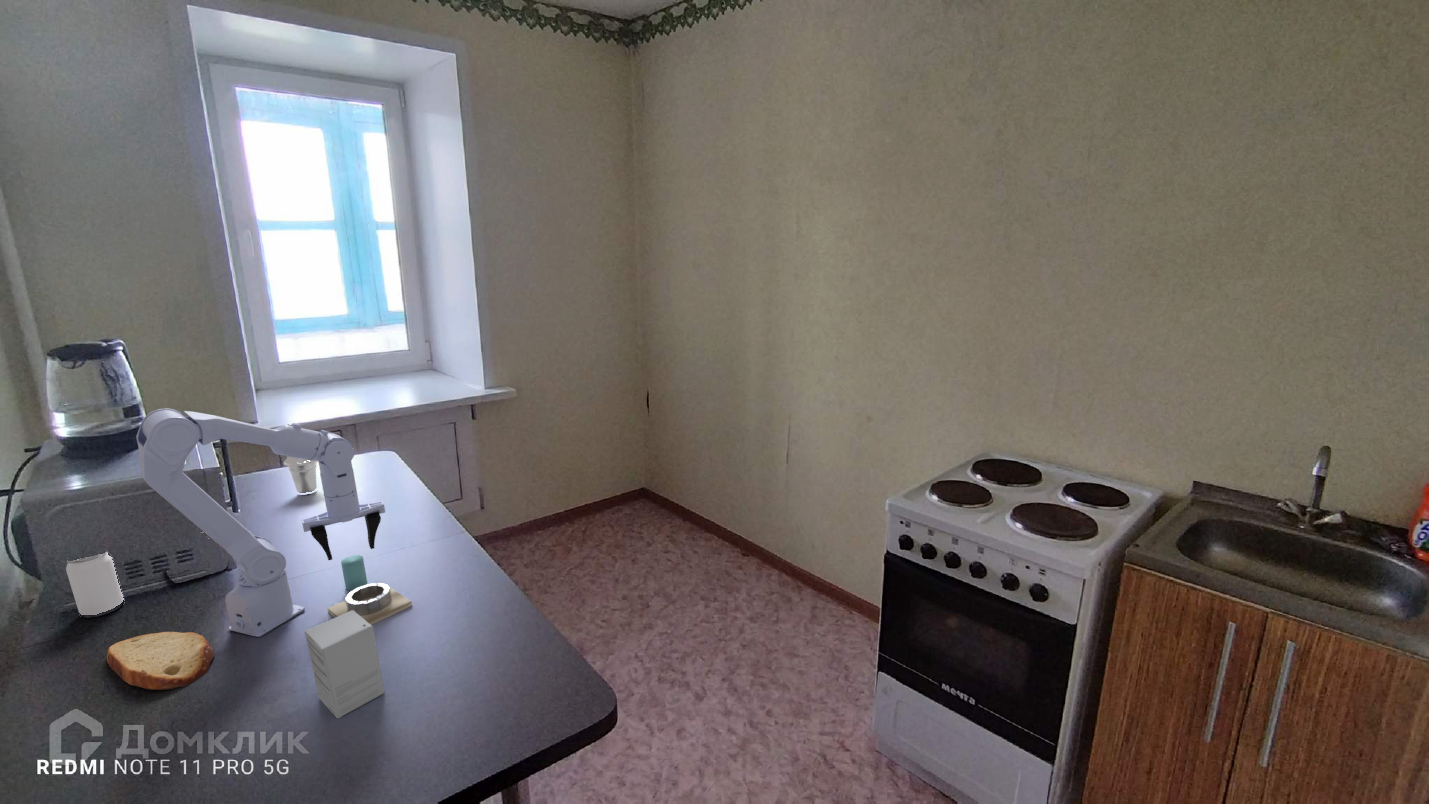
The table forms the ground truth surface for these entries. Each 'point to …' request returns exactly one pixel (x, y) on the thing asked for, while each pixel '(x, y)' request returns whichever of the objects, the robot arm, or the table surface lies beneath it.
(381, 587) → the socket collar
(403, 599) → the dock plate
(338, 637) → the supplement box
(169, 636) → the slice of bread
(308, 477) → the cup with straw
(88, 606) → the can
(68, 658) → the table surface
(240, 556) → the robot arm
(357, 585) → the teal cylinder
